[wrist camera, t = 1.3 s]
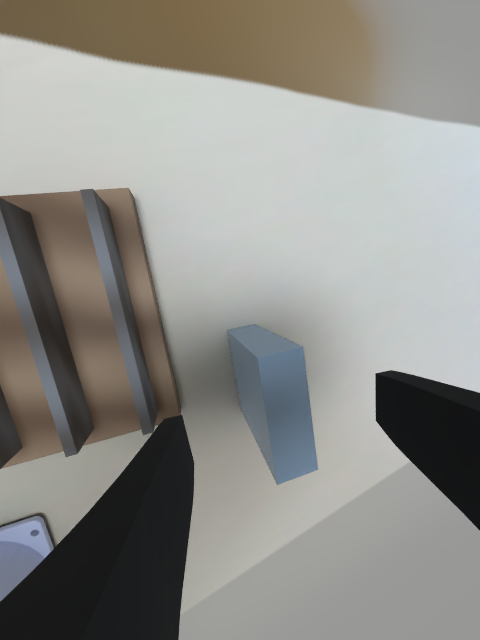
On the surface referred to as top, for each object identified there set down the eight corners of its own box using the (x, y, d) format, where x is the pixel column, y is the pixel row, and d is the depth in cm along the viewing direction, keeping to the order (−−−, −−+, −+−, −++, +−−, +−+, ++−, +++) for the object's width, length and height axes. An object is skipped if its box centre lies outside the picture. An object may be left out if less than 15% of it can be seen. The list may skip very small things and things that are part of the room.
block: (266, 401, 20) (317, 469, 12) (240, 408, 20) (277, 484, 12) (254, 324, 19) (303, 346, 11) (226, 330, 18) (257, 357, 11)
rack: (180, 408, 18) (179, 439, 14) (-67, 475, 15) (-155, 539, 11) (133, 197, 16) (117, 166, 12) (-178, 220, 12) (-346, 187, 8)
